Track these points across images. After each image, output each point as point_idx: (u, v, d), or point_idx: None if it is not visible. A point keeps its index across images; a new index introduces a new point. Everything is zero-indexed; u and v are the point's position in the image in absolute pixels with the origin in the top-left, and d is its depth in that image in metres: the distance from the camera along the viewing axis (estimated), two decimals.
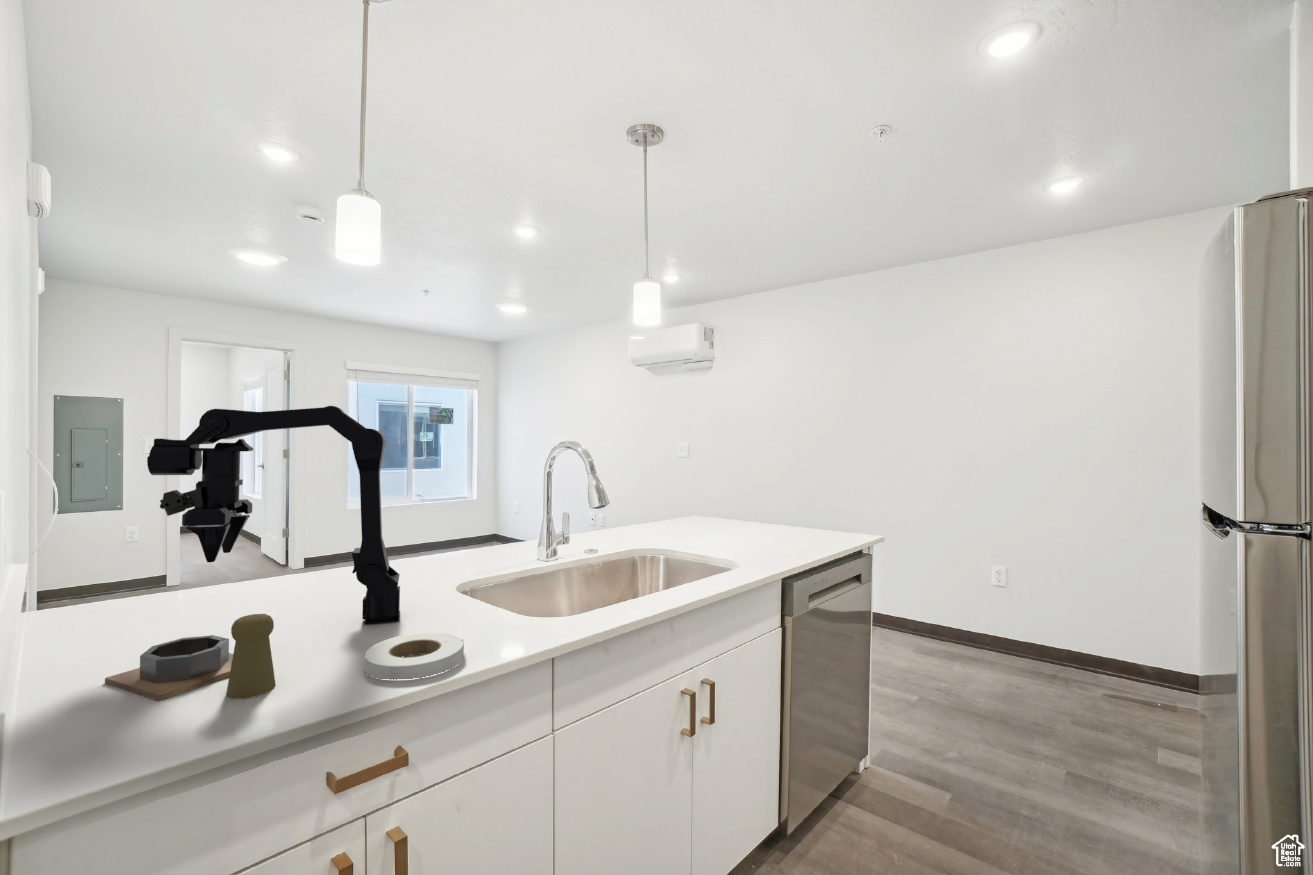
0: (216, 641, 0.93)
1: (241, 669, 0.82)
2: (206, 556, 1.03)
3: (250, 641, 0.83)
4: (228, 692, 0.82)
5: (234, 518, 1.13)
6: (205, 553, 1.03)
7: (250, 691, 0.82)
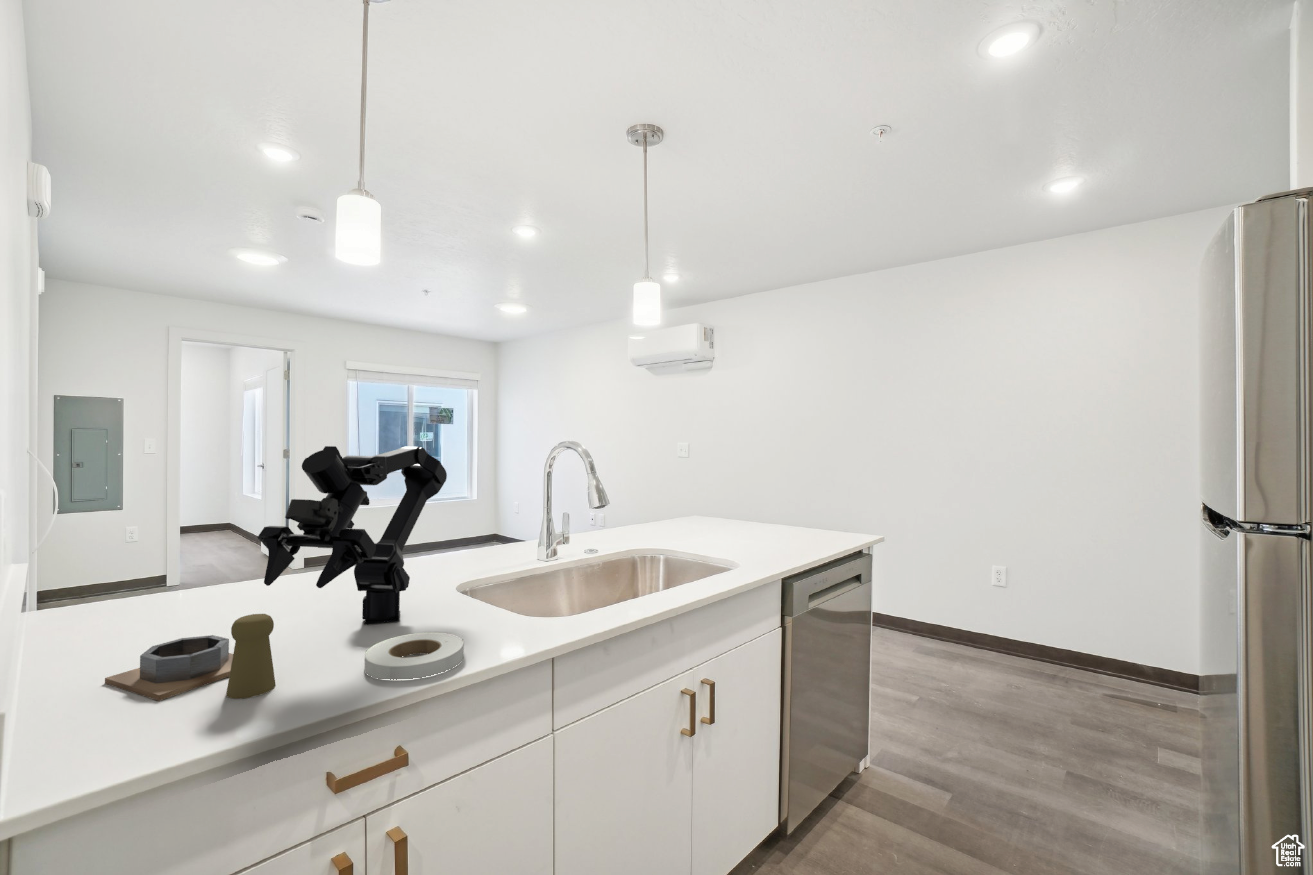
0: (216, 641, 0.93)
1: (241, 669, 0.82)
2: (323, 579, 0.93)
3: (250, 641, 0.83)
4: (228, 692, 0.82)
5: (288, 553, 0.99)
6: (325, 575, 0.93)
7: (250, 691, 0.82)
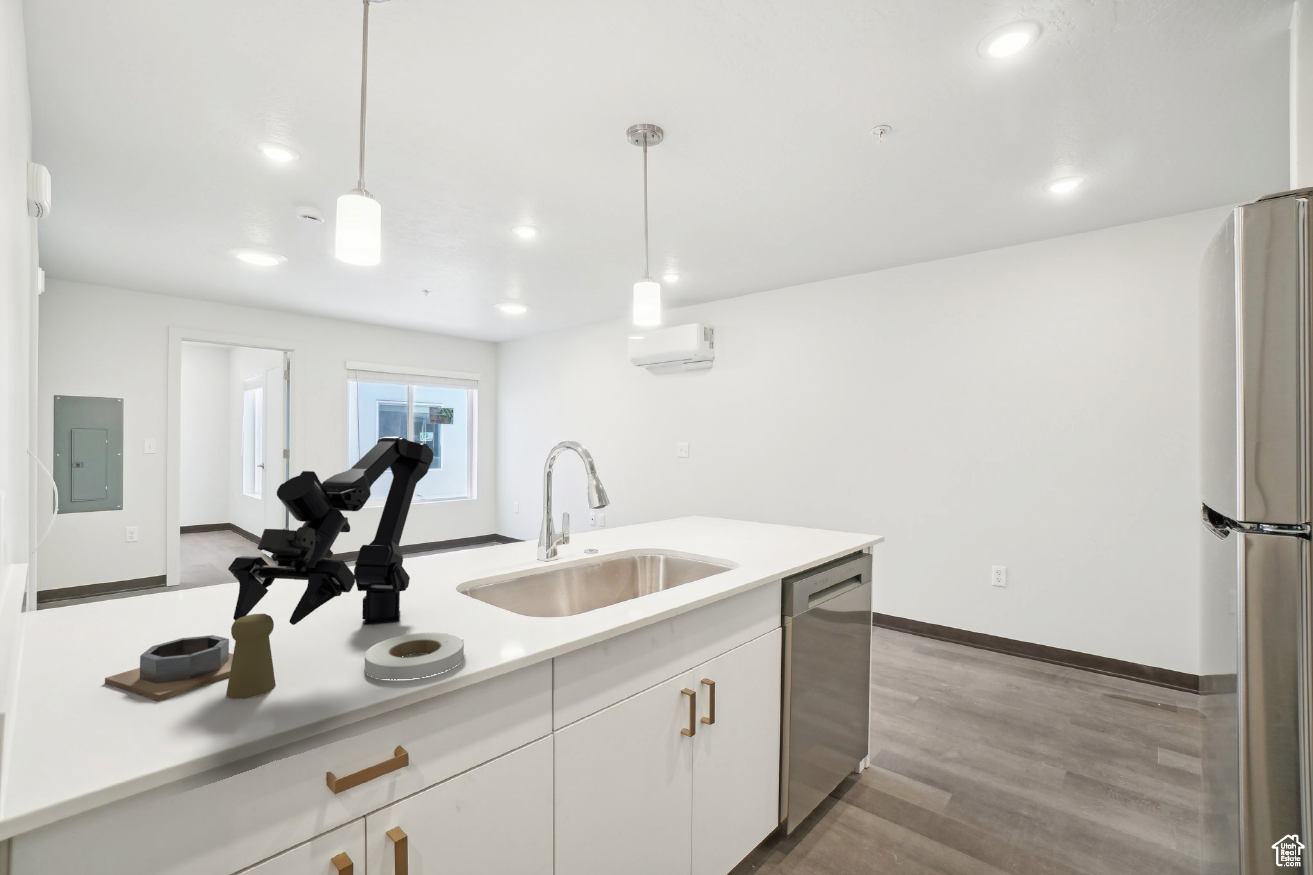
0: (216, 641, 0.93)
1: (241, 669, 0.82)
2: (297, 614, 0.87)
3: (250, 641, 0.83)
4: (228, 692, 0.82)
5: (261, 585, 0.93)
6: (300, 611, 0.87)
7: (250, 691, 0.82)
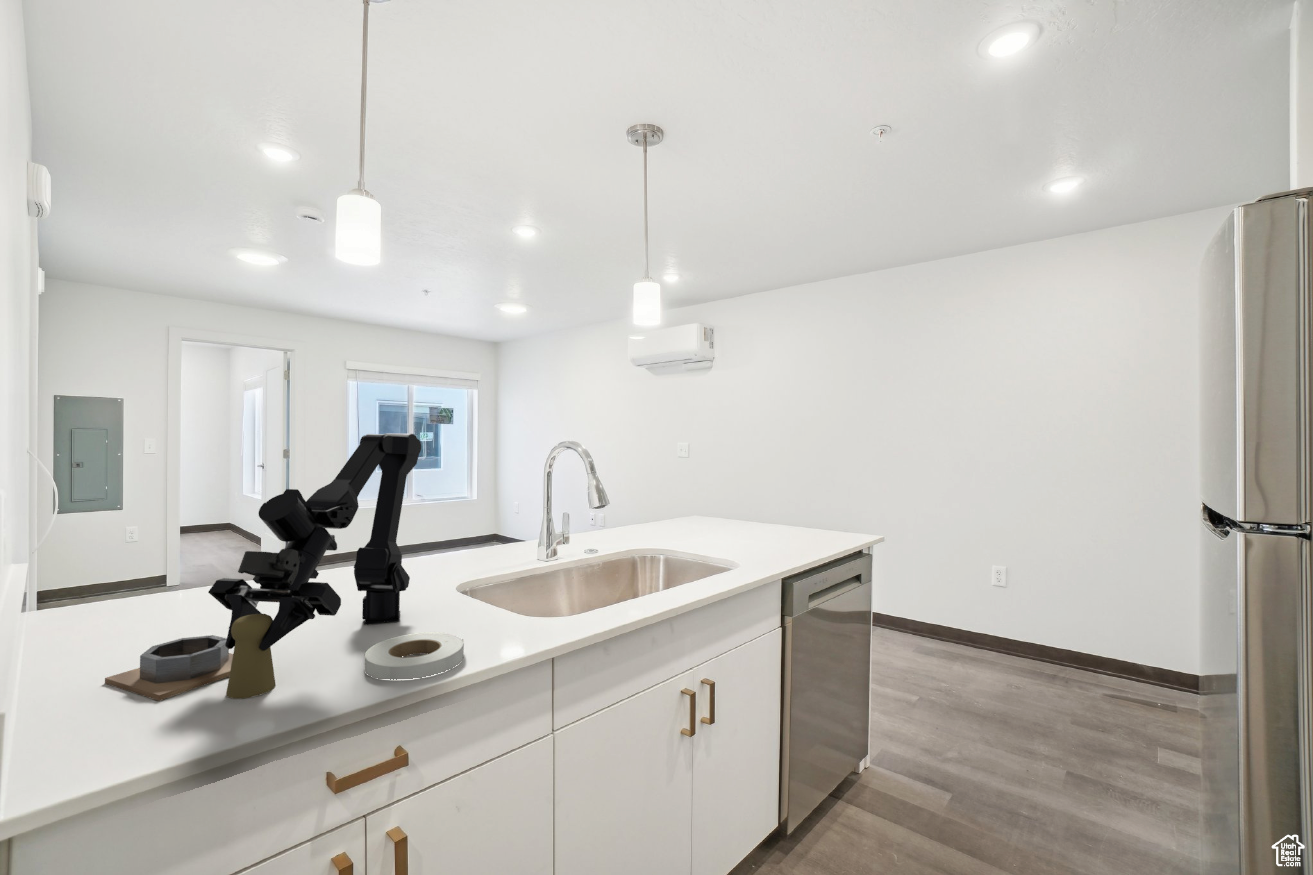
0: (216, 641, 0.93)
1: (241, 669, 0.82)
2: (267, 640, 0.84)
3: (250, 641, 0.83)
4: (228, 692, 0.82)
5: (254, 609, 0.89)
6: (270, 636, 0.84)
7: (250, 691, 0.82)
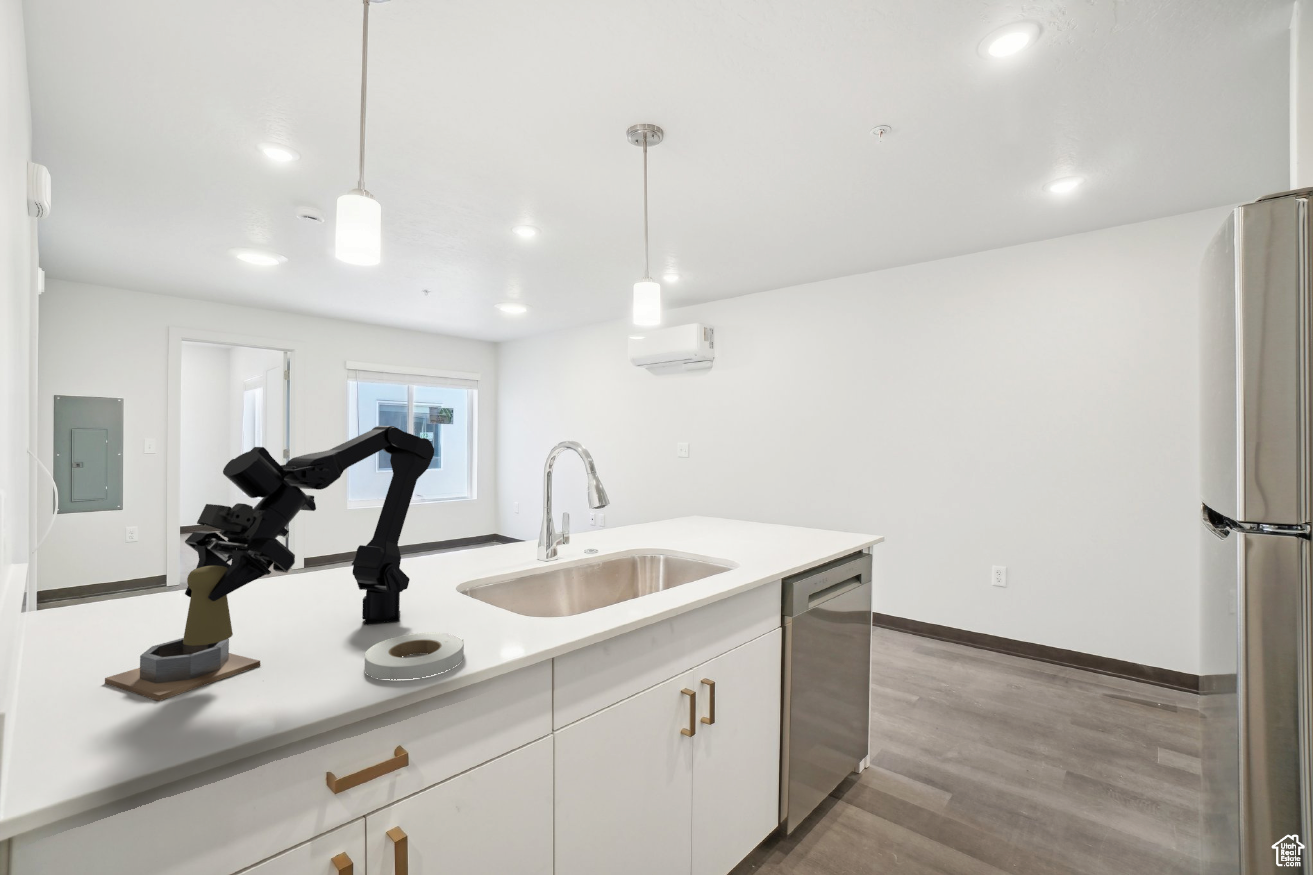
0: None
1: (192, 617, 0.85)
2: (216, 591, 0.85)
3: (202, 591, 0.85)
4: None
5: (223, 562, 0.92)
6: (219, 587, 0.86)
7: (199, 639, 0.84)
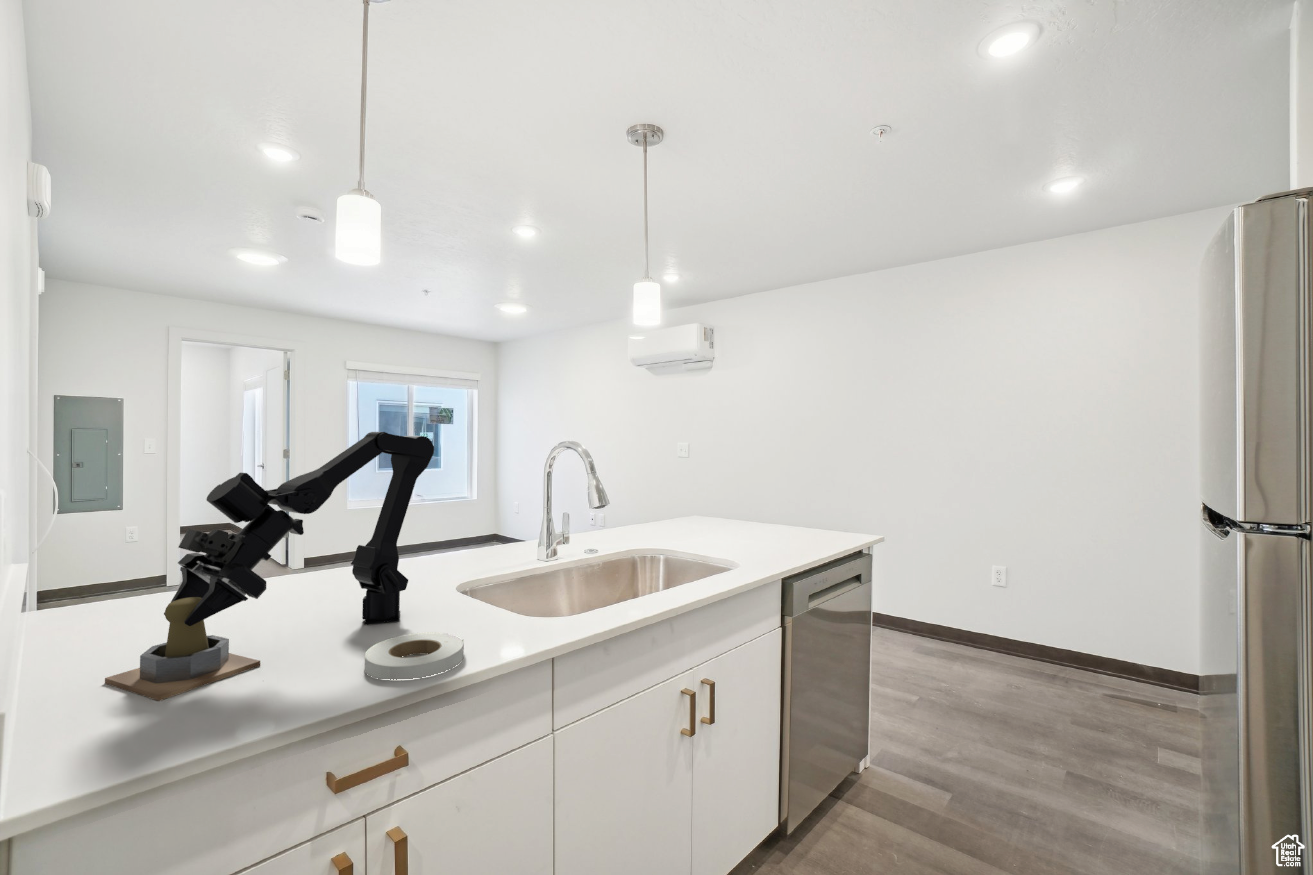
0: (216, 641, 0.93)
1: (168, 648, 0.88)
2: (191, 616, 0.87)
3: (176, 623, 0.88)
4: None
5: (206, 583, 0.96)
6: (194, 613, 0.87)
7: None
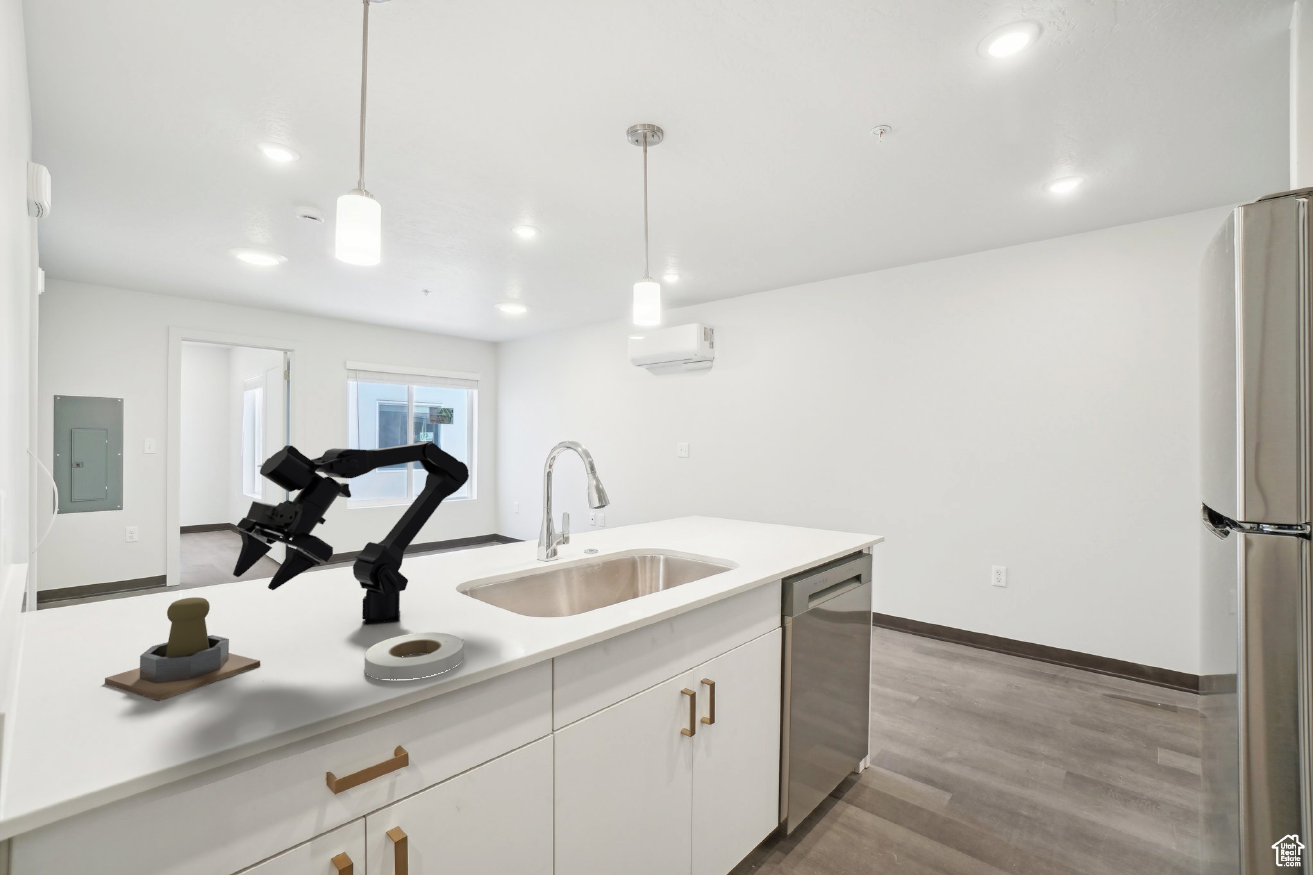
0: (216, 641, 0.93)
1: (169, 648, 0.88)
2: (274, 582, 0.97)
3: (178, 623, 0.88)
4: None
5: (263, 544, 1.04)
6: (277, 579, 0.97)
7: None
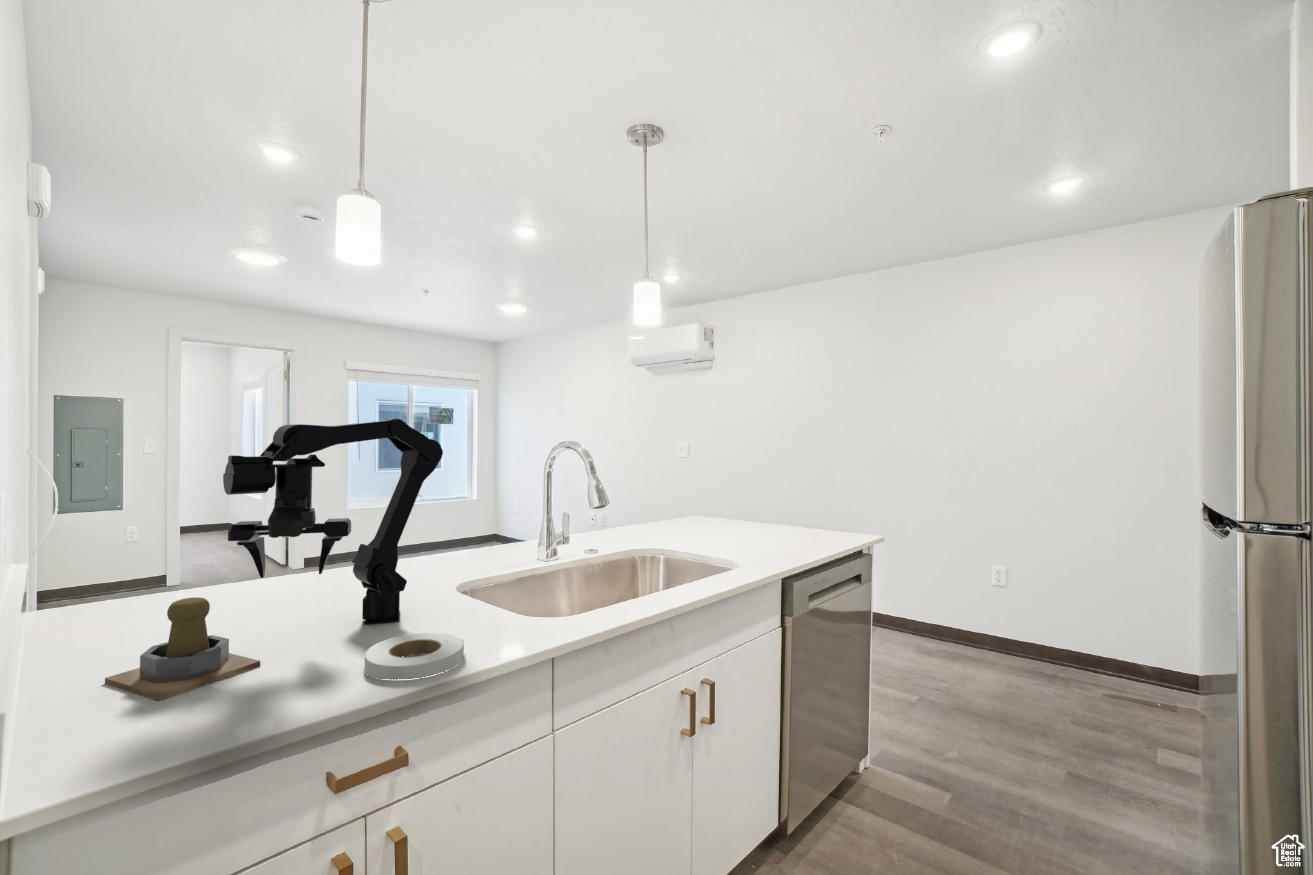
0: (216, 641, 0.93)
1: (169, 648, 0.88)
2: (323, 567, 1.07)
3: (178, 623, 0.88)
4: None
5: (261, 540, 1.05)
6: (324, 564, 1.07)
7: None
